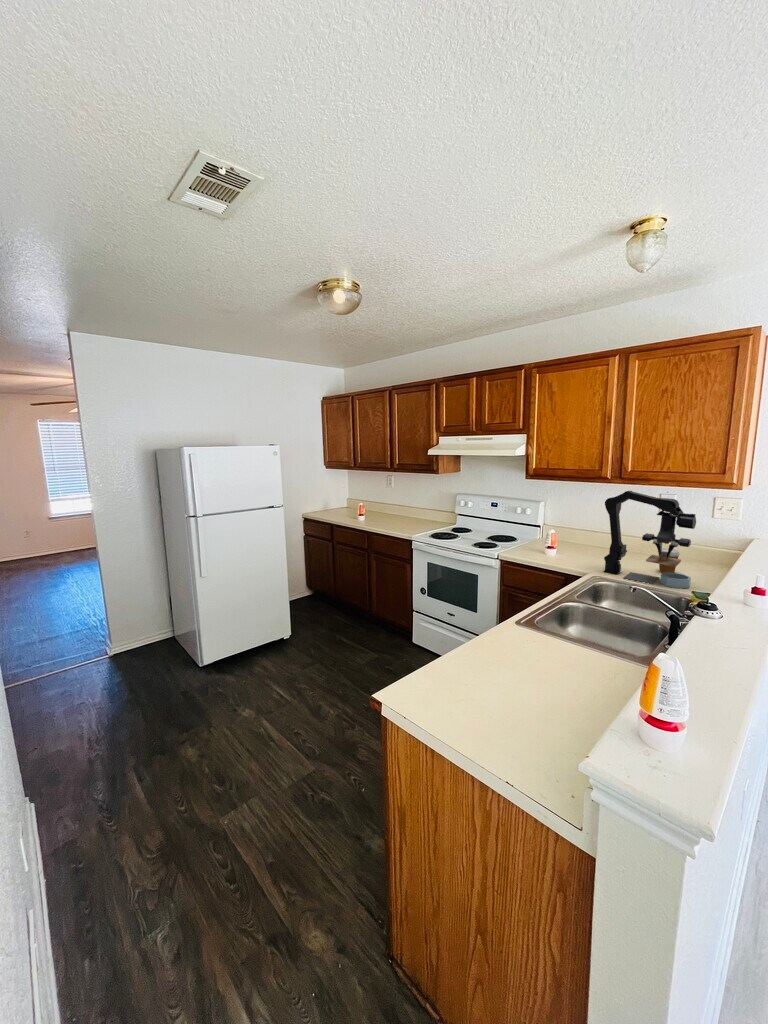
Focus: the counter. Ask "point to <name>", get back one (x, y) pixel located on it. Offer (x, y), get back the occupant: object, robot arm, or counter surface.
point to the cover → (663, 559)
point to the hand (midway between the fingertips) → (663, 557)
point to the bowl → (675, 580)
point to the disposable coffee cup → (668, 568)
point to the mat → (641, 578)
